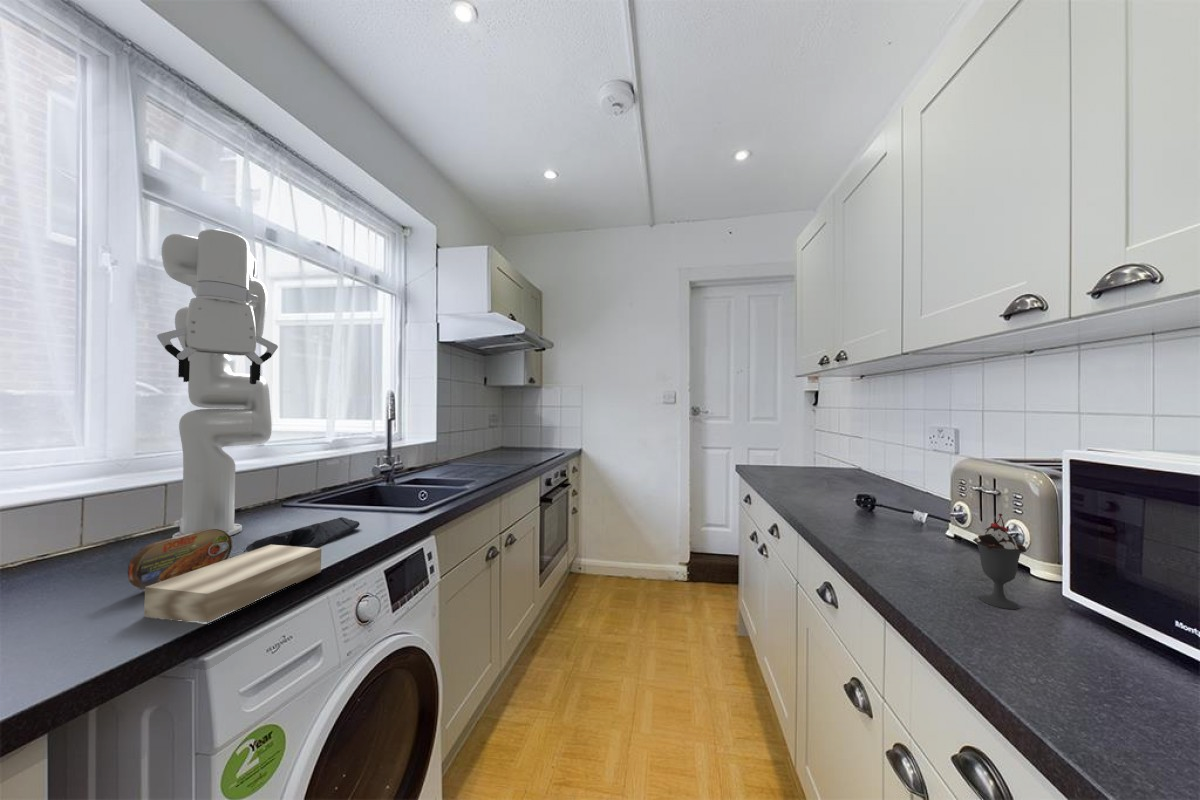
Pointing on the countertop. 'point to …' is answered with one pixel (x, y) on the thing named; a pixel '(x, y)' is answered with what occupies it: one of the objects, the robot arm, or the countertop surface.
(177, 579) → the birch block
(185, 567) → the tin
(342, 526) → the dark slate chunk
